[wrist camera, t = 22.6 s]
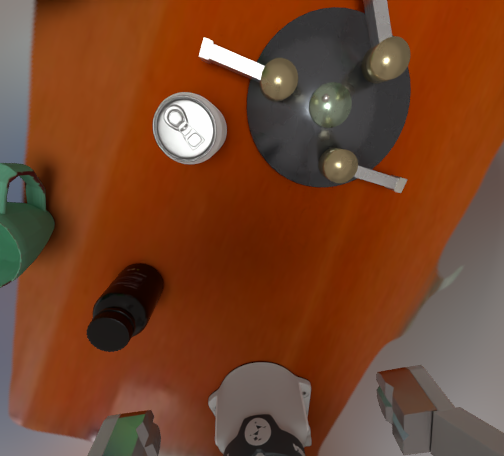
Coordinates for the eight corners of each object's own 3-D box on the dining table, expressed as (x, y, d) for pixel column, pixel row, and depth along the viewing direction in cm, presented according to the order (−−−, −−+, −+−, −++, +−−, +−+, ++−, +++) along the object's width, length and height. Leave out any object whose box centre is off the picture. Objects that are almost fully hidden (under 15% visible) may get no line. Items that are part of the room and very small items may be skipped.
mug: (63, 263, 42) (11, 302, 32) (-8, 237, 40) (-84, 270, 30) (91, 173, 37) (40, 188, 28) (13, 139, 36) (-68, 143, 26)
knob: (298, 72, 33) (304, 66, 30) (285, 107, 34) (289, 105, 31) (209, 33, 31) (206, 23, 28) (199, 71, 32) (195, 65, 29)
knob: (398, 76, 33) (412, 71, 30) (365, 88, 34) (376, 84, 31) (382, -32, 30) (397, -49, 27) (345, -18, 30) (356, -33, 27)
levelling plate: (402, 171, 39) (415, 174, 36) (260, 196, 39) (261, 201, 36) (404, -2, 32) (420, -15, 29) (233, 30, 33) (232, 21, 30)
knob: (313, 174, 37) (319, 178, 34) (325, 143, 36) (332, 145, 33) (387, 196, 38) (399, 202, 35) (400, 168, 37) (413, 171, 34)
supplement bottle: (167, 299, 44) (143, 358, 33) (124, 302, 44) (84, 362, 33) (161, 260, 42) (132, 308, 31) (115, 263, 42) (69, 312, 31)
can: (203, 90, 35) (185, 71, 23) (237, 133, 36) (236, 135, 25) (165, 125, 36) (131, 124, 24) (200, 165, 38) (183, 181, 26)
